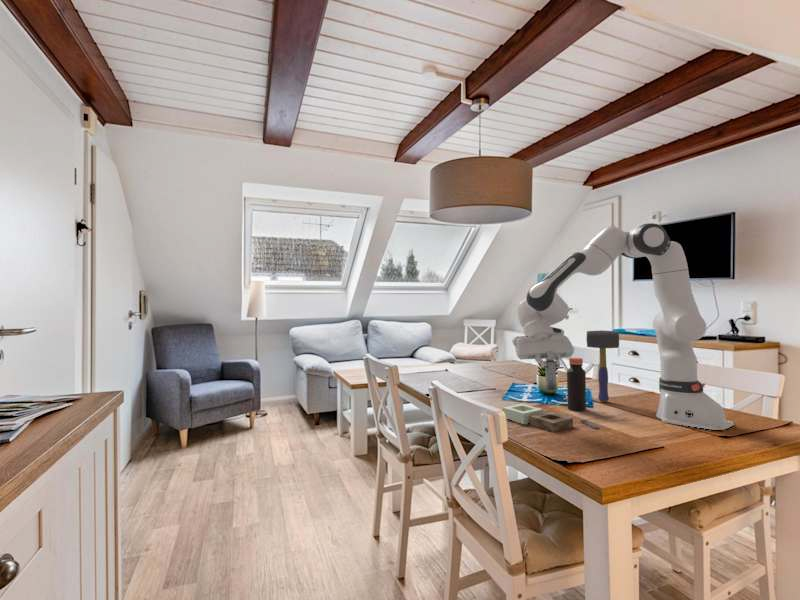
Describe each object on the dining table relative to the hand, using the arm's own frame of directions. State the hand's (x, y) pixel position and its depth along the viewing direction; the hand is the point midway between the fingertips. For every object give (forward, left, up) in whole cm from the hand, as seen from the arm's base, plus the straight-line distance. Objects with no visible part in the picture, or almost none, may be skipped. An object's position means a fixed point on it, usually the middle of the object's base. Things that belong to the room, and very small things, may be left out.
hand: (551, 366), depth 147 cm
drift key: (-6, -11, -21) cm, 25 cm away
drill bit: (+1, 0, -8) cm, 8 cm away
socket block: (+1, 0, -21) cm, 21 cm away
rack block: (+12, +2, -21) cm, 24 cm away
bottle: (+10, -26, -21) cm, 35 cm away
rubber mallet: (+11, -45, -21) cm, 51 cm away
